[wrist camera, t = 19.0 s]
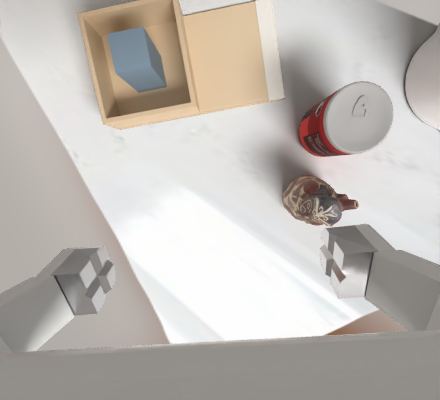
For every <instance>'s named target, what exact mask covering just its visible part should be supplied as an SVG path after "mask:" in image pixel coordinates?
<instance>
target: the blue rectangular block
mask: <svg viewBox="0 0 440 400" xmlns="http://www.w3.org/2000/svg"><path fill="white" fill-rule="evenodd" d="M107 37H108V42H109V46H110V51H111V55H112V60H113V65H114V69H115V73H116V74H117V75H118V76H119V77H121V78H122V79H123V80H124V81H125V82H127V83H128V84H129V85H130V86H131V87H133V88H134V89H135V90H136V91H137V92H139V93H140V92H145V91H150V90H155V89H160V88H165V87H167V84H166V79H165V74H164V69H163V64H162V58H161V55H160V54H159V52H158V50H157V49H156V47H155V45H154V44H153V42H152V40H151V39H150V37H149V35H148V34H147V32H146V30H145V29H144V27H138V28H133V29H128V30H124V31H119V32H114V33H110V34H107Z"/></svg>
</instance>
